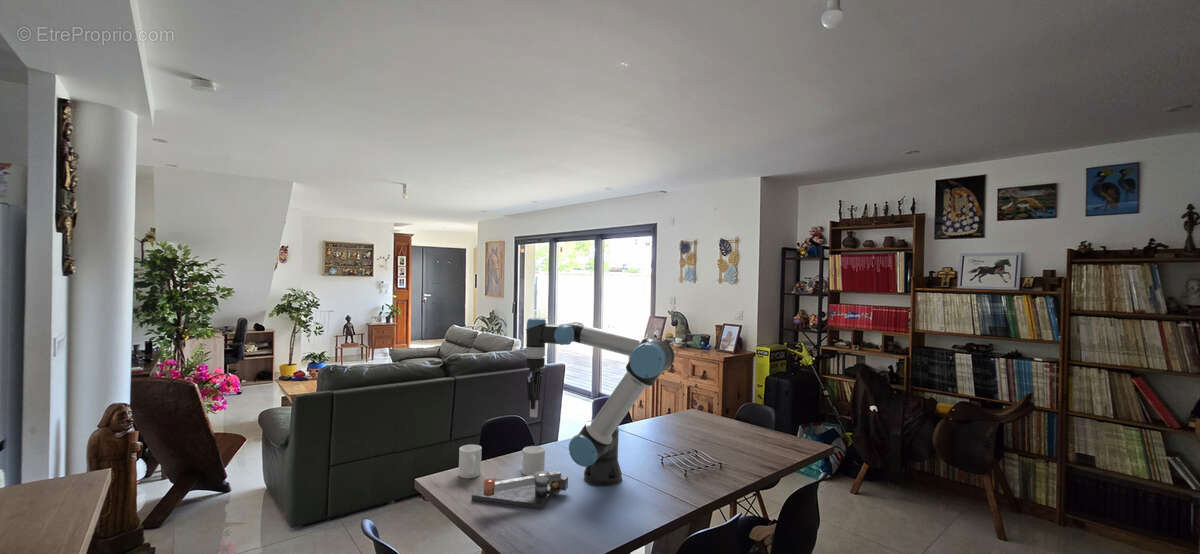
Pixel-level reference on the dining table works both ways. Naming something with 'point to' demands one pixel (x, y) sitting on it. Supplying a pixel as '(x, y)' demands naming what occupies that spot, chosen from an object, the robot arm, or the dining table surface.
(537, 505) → the press base
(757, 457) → the dining table surface
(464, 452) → the mug
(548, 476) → the lever
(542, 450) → the mug
